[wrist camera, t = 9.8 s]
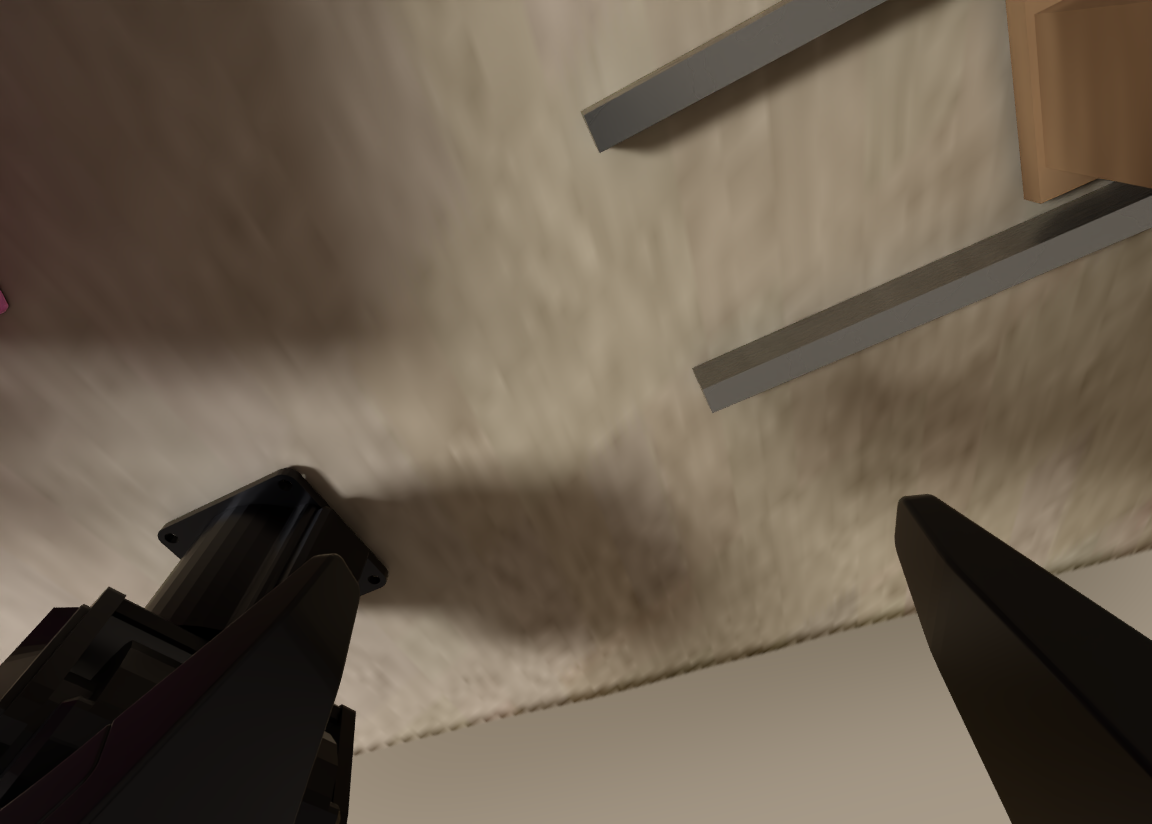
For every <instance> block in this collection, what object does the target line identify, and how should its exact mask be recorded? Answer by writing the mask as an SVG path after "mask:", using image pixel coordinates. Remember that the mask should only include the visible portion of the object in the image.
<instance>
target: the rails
mask: <svg viewBox="0 0 1152 824" xmlns="http://www.w3.org/2000/svg"><path fill="white" fill-rule="evenodd" d="M885 1H887V0H782V1H781V2H779V3H777V4H775V5H773V6H771V7H770V8H768V9H766V10H764V11H762V12H761V13H759V14H757V15H755V16H753V17H751V18H750V19H748V20H746V21H744V22H742V23H741V24H739V25H737V26H735V27H733V28H731V29H730V30H728V31H726V32H724V33H722V34H721V35H719V36H717V37H715V38H713V39H712V40H710V41H708V42H706V43H704V44H702V45H701V46H699V47H697V48H695V49H693V50H692V51H690V52H688V53H686V54H684V55H682V56H681V57H679V58H677V59H675V60H673V61H672V62H670V63H668V64H666V65H664V66H662V67H661V68H659V69H657V70H655V71H653V72H652V73H650V74H648V75H646V76H644V77H643V78H641V79H639V80H637V81H635V82H633V83H632V84H630V85H628V86H626V87H624V88H623V89H621V90H619V91H617V92H615V93H613V94H612V95H610V96H608V97H606V98H604V99H603V100H601V101H599V102H597V103H595V104H593V105H592V106H590V107H588V108H586V109H584V110H583V111H581V113H582V116H583V118H584V120H585V123H586V125H587V127H588V129H589V132H590V134H591V136H592V139H593V141H594V143H595V146H596V147H597V149H598V151H599V153H601V152H603V151H605V150H607V149H608V148H610V147H612V146H614V145H616V144H618V143H620V142H622V141H623V140H625V139H627V138H629V137H631V136H633V135H635V134H637V133H638V132H640V131H642V130H644V129H646V128H648V127H650V126H652V125H654V124H655V123H657V122H659V121H661V120H663V119H665V118H667V117H669V116H670V115H672V114H674V113H676V112H678V111H680V110H682V109H684V108H685V107H687V106H689V105H691V104H693V103H695V102H697V101H699V100H701V99H702V98H704V97H706V96H708V95H710V94H712V93H714V92H716V91H717V90H719V89H721V88H723V87H725V86H727V85H729V84H731V83H732V82H734V81H736V80H738V79H740V78H742V77H744V76H746V75H748V74H749V73H751V72H753V71H755V70H757V69H759V68H761V67H763V66H764V65H766V64H768V63H770V62H772V61H774V60H776V59H778V58H779V57H781V56H783V55H785V54H787V53H789V52H791V51H793V50H794V49H796V48H798V47H800V46H802V45H804V44H806V43H808V42H810V41H811V40H813V39H815V38H817V37H819V36H821V35H823V34H825V33H826V32H828V31H830V30H832V29H834V28H836V27H838V26H840V25H841V24H843V23H845V22H847V21H849V20H851V19H853V18H855V17H857V16H858V15H860V14H862V13H864V12H866V11H868V10H870V9H872V8H873V7H875V6H877V5H879V4H881V3H883V2H885ZM1149 228H1152V188H1147V187H1142V186H1137V185H1132V184H1127V183H1122V182H1117V181H1116V182H1114V183H1112V184H1109V185H1107V186H1105V187H1103V188H1100V189H1098V190H1096V191H1094V192H1091V193H1089V194H1087V195H1084V196H1082V197H1080V198H1078V199H1075V200H1073V201H1071V202H1069V203H1066V204H1064V205H1062V206H1060V207H1057V208H1055V209H1053V210H1050V211H1048V212H1046V213H1044V214H1041V215H1039V216H1037V217H1035V218H1032V219H1030V220H1028V221H1025V222H1023V223H1021V224H1019V225H1016V226H1014V227H1012V228H1010V229H1007V230H1005V231H1003V232H1001V233H998V234H996V235H994V236H991V237H989V238H987V239H985V240H982V241H980V242H978V243H976V244H973V245H971V246H969V247H966V248H964V249H962V250H960V251H957V252H955V253H953V254H951V255H948V256H946V257H944V258H942V259H939V260H937V261H935V262H932V263H930V264H928V265H926V266H923V267H921V268H919V269H917V270H914V271H912V272H910V273H908V274H905V275H903V276H901V277H898V278H896V279H894V280H892V281H889V282H887V283H885V284H883V285H880V286H878V287H876V288H873V289H871V290H869V291H867V292H864V293H862V294H860V295H858V296H855V297H853V298H851V299H849V300H846V301H844V302H842V303H839V304H837V305H835V306H833V307H830V308H828V309H826V310H824V311H821V312H819V313H817V314H814V315H812V316H810V317H808V318H805V319H803V320H801V321H799V322H796V323H794V324H792V325H790V326H787V327H785V328H783V329H780V330H778V331H776V332H774V333H771V334H769V335H767V336H765V337H762V338H760V339H758V340H755V341H753V342H751V343H749V344H746V345H744V346H742V347H740V348H737V349H735V350H733V351H731V352H728V353H726V354H724V355H721V356H719V357H717V358H715V359H712V360H710V361H708V362H706V363H703V364H701V365H699V366H696V367H694V368H692V369H693V371H694V374H695V376H696V378H697V381H698V383H699V385H700V388H701V390H702V392H703V394H704V396H705V398H706V400H707V403H708V405H709V407H710V409H711V411H712V413H714V412H716V411H718V410H721V409H723V408H726V407H728V406H730V405H733V404H735V403H737V402H740V401H742V400H745V399H747V398H749V397H752V396H754V395H756V394H759V393H761V392H763V391H766V390H768V389H771V388H773V387H775V386H778V385H780V384H782V383H785V382H787V381H790V380H792V379H794V378H797V377H799V376H801V375H804V374H806V373H808V372H811V371H813V370H816V369H818V368H820V367H823V366H825V365H827V364H830V363H832V362H835V361H837V360H839V359H842V358H844V357H846V356H849V355H851V354H853V353H856V352H858V351H861V350H863V349H865V348H868V347H870V346H872V345H875V344H877V343H879V342H882V341H884V340H887V339H889V338H891V337H894V336H896V335H898V334H901V333H903V332H906V331H908V330H910V329H913V328H915V327H917V326H920V325H922V324H924V323H927V322H929V321H932V320H934V319H936V318H939V317H941V316H943V315H946V314H948V313H951V312H953V311H955V310H958V309H960V308H962V307H965V306H967V305H969V304H972V303H974V302H977V301H979V300H981V299H984V298H986V297H988V296H991V295H993V294H996V293H998V292H1000V291H1003V290H1005V289H1007V288H1010V287H1012V286H1014V285H1017V284H1019V283H1022V282H1024V281H1026V280H1029V279H1031V278H1033V277H1036V276H1038V275H1040V274H1043V273H1045V272H1048V271H1050V270H1052V269H1055V268H1057V267H1059V266H1062V265H1064V264H1067V263H1069V262H1071V261H1074V260H1076V259H1078V258H1081V257H1083V256H1085V255H1088V254H1090V253H1093V252H1095V251H1097V250H1100V249H1102V248H1104V247H1107V246H1109V245H1112V244H1114V243H1116V242H1119V241H1121V240H1123V239H1126V238H1128V237H1130V236H1133V235H1135V234H1138V233H1140V232H1142V231H1145V230H1147V229H1149Z"/></svg>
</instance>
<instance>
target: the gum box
mask: <svg viewBox="0 0 1152 824" xmlns="http://www.w3.org/2000/svg"><path fill="white" fill-rule="evenodd" d="M7 308H8V304H7V302H6V300H5V298H4V296H3V294H2V292H1V290H0V314H1V313H4V312H5V311H6V310H7Z"/></svg>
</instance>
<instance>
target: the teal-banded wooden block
mask: <svg viewBox="0 0 1152 824" xmlns="http://www.w3.org/2000/svg"><path fill="white" fill-rule="evenodd" d="M1006 10H1007V21H1008V32H1009V42H1010V53H1011V64H1012V74H1013V85H1014V96H1015V106H1016V117H1017V128H1018V138H1019V149H1020V160H1021V170H1022V181H1023V192H1024V199H1026V200H1029V201H1033V202H1037V203H1040V204H1041V203H1044V202H1046V201H1048V200H1050V199H1053V198H1055V197H1057V196H1059V195H1062V194H1064V193H1066V192H1068V191H1071V190H1073V189H1075V188H1077V187H1080V186H1082V185H1084V184H1086V183H1089V182H1091V181H1093V180H1095V179H1098V178H1101V179H1106V180H1111V181H1117V182H1122V183H1127V184H1132V185H1137V186H1142V187H1147V188H1152V0H1006Z"/></svg>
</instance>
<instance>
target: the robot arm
mask: <svg viewBox="0 0 1152 824" xmlns="http://www.w3.org/2000/svg"><path fill="white" fill-rule="evenodd" d="M283 480H287V481H289V482H291V484H287V483H285V482H284V481H283ZM173 534H174V535H173ZM175 535H176V536H175ZM158 539H159V540H160V542H161V543H162V544H163V545H165V546H166V547H167V548H168V549H169V550H170V551H172V552H173V553H174V554H175V555H176V556H177V557H178V558H180V559H181V560H180V562H179V563H178V564H177V566H176V567H175V568H174V570H173V571H172V572H171V574H170V575H169V576H168V578H167V579H166V580H165V582H164V583H163V584H162V586H161V587H160V588H159V589H158V591H157V592H156V593H155V595H154V596H153V597H152V599H151V600H150V601H149V603H148V604H147V605H146V607H145V608H143V607H141V606H139V605H137V604H135V603H133V602H131V601H129V600H127V599H125V597H126V595H124V594H122V593H121V592H119V591H117V590H115V589H113V588H111V587H108V588H107V589H106V590H105V591H104V592H103V593H102V595H101V596H100V597H99V598H98V599H97V600H96V601H95V602H94V603H93V604H92V605H91V607H89V606H87V605H85V604H83V605H81V606H80V607H65V608H53V609H52V610H51V611H50V612H49V613H48V615H47V616H46V617H45V618H44V619H43V620H42V621H41V622H40V623H39V624H38V625H37V627H36V628H35V629H34V630H33V631H32V632H31V633H30V634H29V635H28V636H27V637H26V638H25V640H24V641H23V642H22V643H21V644H20V645H19V646H18V647H17V648H16V649H15V650H14V651H13V652H12V654H11V655H10V656H9V657H8V658H7V659H6V660H5V661H4V662H3V663H2V664H1V665H0V824H347V818H348V808H349V796H350V782H351V769H352V756H353V743H354V730H355V717H356V711H354V710H352V709H350V708H348V707H346V706H344V705H342V704H341V705H340V706H338V705H336V704H334V701H335V698H336V695H337V692H338V689H339V685H340V682H341V678H342V674H343V670H344V666H345V662H346V657H347V653H348V648H349V644H350V640H351V635H352V631H353V626H354V622H355V617H356V613H357V609H358V604H359V600H360V596H361V595H364V594H366V593H369V592H371V591H374V590H376V589H379V588H381V587H383V586H384V585H385V584H386V581H387V578H388V570H387V569H386V568H385V566H384V565H383V564H382V563H381V562H380V561H379V560H378V559H377V558H376V557H375V555H374V554H373V553H372V552H371V551H370V550H369V549H368V548H367V547H366V546H365V544H364V543H363V542H362V541H361V540H360V539H359V538H358V537H357V536H356V535H355V534H354V532H353V531H352V530H351V529H350V528H349V527H348V526H347V525H346V524H345V523H344V521H343V520H342V519H341V518H340V517H339V516H338V515H337V514H336V513H335V512H334V510H333V509H332V508H331V507H330V506H329V505H328V504H327V503H326V502H325V501H324V500H323V498H322V497H321V496H320V495H319V494H318V493H317V492H316V491H315V490H314V489H313V488H312V486H311V485H310V484H309V483H308V482H307V481H306V480H305V479H304V478H303V477H302V475H301V474H300V473H298V472H297V471H296V470H293V469H290V468H284V469H280V470H278V471H276V472H274V473H272V474H270V475H267V476H265V477H263V478H261V479H259V480H257V481H255V482H253V483H250V484H248V485H246V486H244V487H242V488H240V489H238V490H236V491H234V492H231V493H229V494H227V495H225V496H223V497H221V498H219V499H217V500H215V501H212V502H210V503H208V504H206V505H204V506H202V507H200V508H198V509H196V510H193V511H191V512H189V513H187V514H185V515H183V516H181V517H179V518H177V519H174V520H172V521H170V522H168V523H167V524H165V525H164V526H163V528H162V529H161V530H160V531H159V533H158ZM895 547H896V551H897V554H898V557H899V560H900V563H901V566H902V569H903V572H904V575H905V578H906V581H907V584H908V587H909V590H910V593H911V596H912V599H913V602H914V605H915V608H916V611H917V613H918V616H919V619H920V622H921V625H922V628H923V631H924V634H925V637H926V640H927V642H928V645H929V648H930V651H931V653H932V655H933V657H934V660H935V662H936V664H937V667H938V668H939V671H940V673H941V675H942V677H943V679H944V681H945V683H946V686H947V688H948V690H949V692H950V694H951V696H952V698H953V700H954V703H955V704H956V707H957V709H958V711H959V713H960V715H961V717H962V719H963V721H964V723H965V726H966V728H967V730H968V732H969V734H970V736H971V738H972V740H973V742H974V745H975V747H976V749H977V751H978V753H979V755H980V757H981V759H982V761H983V764H984V766H985V768H986V770H987V772H988V774H989V776H990V778H991V781H992V782H993V785H994V787H995V789H996V791H997V793H998V795H999V797H1000V799H1001V801H1002V804H1003V806H1004V808H1005V810H1006V812H1007V814H1008V816H1009V818H1010V821H1011V823H1012V824H1152V640H1150V639H1149V638H1147V637H1146V636H1144V635H1143V634H1141V633H1140V632H1138V631H1137V630H1135V629H1134V628H1132V627H1131V626H1129V625H1128V624H1126V623H1125V622H1123V621H1122V620H1120V619H1118V618H1117V617H1116V616H1114V615H1113V614H1111V613H1110V612H1108V611H1107V610H1105V609H1104V608H1102V607H1101V606H1099V605H1098V604H1096V603H1095V602H1093V601H1092V600H1090V599H1089V598H1087V597H1086V596H1084V595H1082V594H1081V593H1080V592H1078V591H1077V590H1075V589H1073V588H1072V587H1071V586H1069V585H1068V584H1066V583H1065V582H1063V581H1062V580H1060V579H1059V578H1057V577H1056V576H1054V575H1053V574H1051V573H1050V572H1048V571H1047V570H1045V569H1044V568H1042V567H1041V566H1039V565H1038V564H1036V563H1035V562H1033V561H1032V560H1030V559H1029V558H1027V557H1026V556H1024V555H1023V554H1021V553H1020V552H1018V551H1017V550H1015V549H1014V548H1012V547H1011V546H1009V545H1008V544H1006V543H1005V542H1003V541H1002V540H1000V539H998V538H997V537H995V536H994V535H992V534H991V533H989V532H988V531H986V530H985V529H983V528H982V527H980V526H979V525H977V524H976V523H974V522H973V521H971V520H970V519H968V518H967V517H965V516H964V515H962V514H961V513H959V512H958V511H956V510H955V509H953V508H952V507H950V506H949V505H947V504H946V503H944V502H943V501H941V500H940V499H938V498H937V497H935V496H933V495H930V494H923V495H913V496H904V497H902V498H900V500H899V502H898V506H897V516H896V527H895ZM372 575H375V576H378V577H374V576H372Z"/></svg>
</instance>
